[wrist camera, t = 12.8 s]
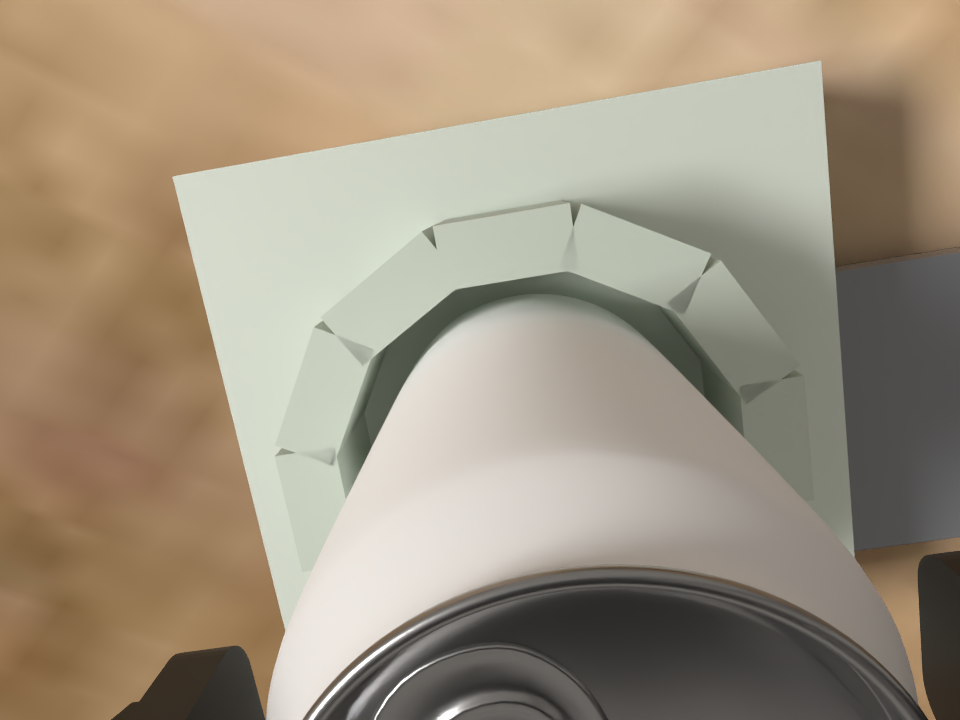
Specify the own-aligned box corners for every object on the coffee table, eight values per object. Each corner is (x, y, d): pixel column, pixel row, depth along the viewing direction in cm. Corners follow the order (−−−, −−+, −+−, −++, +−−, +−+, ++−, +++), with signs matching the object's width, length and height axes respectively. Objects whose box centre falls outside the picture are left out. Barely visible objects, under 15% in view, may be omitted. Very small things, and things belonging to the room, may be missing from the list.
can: (538, 228, 17) (631, 323, 5) (734, 428, 18) (1206, 910, 6) (340, 427, 18) (35, 885, 6) (534, 606, 19) (593, 1306, 7)
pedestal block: (758, 85, 20) (893, 31, 13) (800, 575, 23) (927, 743, 16) (235, 178, 21) (101, 174, 14) (341, 636, 24) (274, 819, 17)
